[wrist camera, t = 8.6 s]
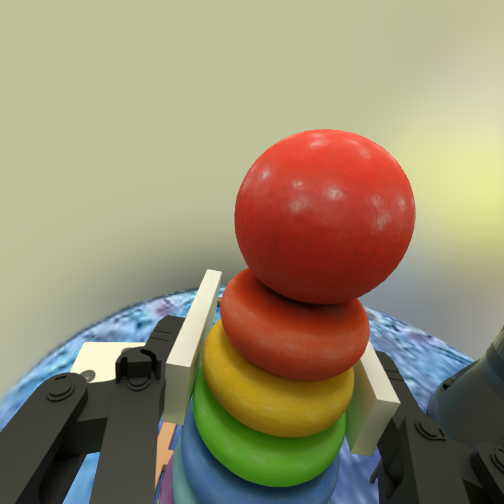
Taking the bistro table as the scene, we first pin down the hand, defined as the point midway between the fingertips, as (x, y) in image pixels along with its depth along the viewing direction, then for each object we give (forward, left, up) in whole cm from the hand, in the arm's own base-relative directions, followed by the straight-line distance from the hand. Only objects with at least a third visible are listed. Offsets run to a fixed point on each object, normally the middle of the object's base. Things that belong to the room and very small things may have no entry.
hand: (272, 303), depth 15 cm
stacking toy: (0, +5, -10) cm, 12 cm away
